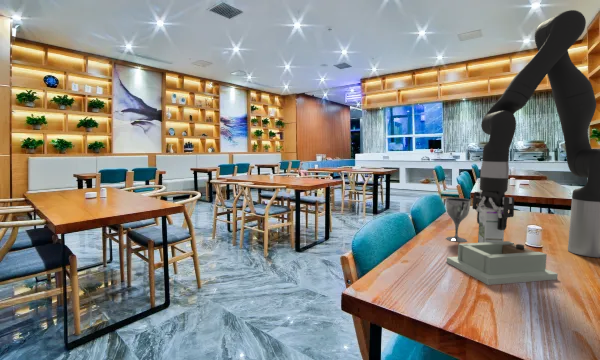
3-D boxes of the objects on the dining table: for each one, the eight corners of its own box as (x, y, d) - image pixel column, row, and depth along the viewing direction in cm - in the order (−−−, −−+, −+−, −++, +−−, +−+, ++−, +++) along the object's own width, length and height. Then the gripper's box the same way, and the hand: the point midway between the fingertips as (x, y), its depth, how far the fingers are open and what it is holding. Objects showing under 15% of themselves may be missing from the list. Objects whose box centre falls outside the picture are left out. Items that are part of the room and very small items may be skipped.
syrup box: (503, 255, 98) (506, 209, 97) (482, 254, 100) (485, 209, 98) (496, 250, 104) (498, 206, 103) (476, 249, 105) (478, 205, 104)
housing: (506, 258, 96) (507, 239, 96) (557, 279, 80) (559, 256, 80) (446, 262, 93) (447, 242, 92) (487, 284, 77) (489, 261, 76)
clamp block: (514, 257, 91) (515, 241, 91) (537, 267, 84) (538, 248, 84) (501, 258, 91) (503, 241, 90) (524, 268, 83) (525, 249, 83)
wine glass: (469, 238, 118) (471, 198, 116) (467, 243, 111) (469, 201, 110) (446, 235, 122) (447, 197, 120) (442, 240, 115) (444, 199, 114)
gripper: (524, 178, 93) (519, 231, 95) (487, 174, 107) (484, 221, 109) (501, 178, 92) (497, 232, 93) (467, 174, 106) (464, 222, 107)
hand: (490, 226), depth 101 cm, fingers open, 8 cm apart
